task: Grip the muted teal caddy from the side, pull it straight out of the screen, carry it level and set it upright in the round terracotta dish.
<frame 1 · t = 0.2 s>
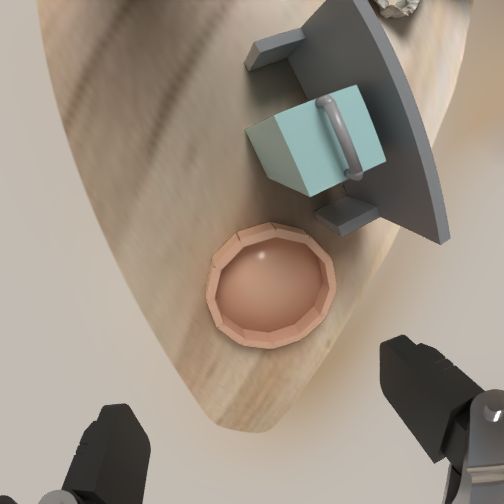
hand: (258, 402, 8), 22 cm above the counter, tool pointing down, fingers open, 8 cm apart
caddy: (282, 141, 27), on the counter
screen: (282, 141, 27), on the counter
dish: (269, 283, 32), on the counter
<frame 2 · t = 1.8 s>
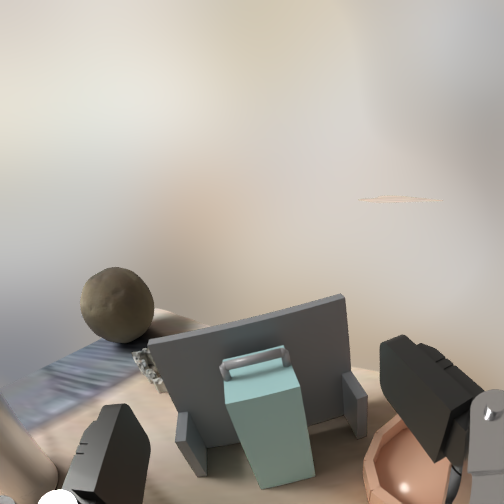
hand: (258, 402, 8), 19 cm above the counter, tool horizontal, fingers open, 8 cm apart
caddy: (283, 462, 24), on the counter
screen: (282, 462, 24), on the counter
cantaloupe: (131, 341, 56), on the counter
egg carton: (168, 375, 43), on the counter
dish: (432, 467, 18), on the counter
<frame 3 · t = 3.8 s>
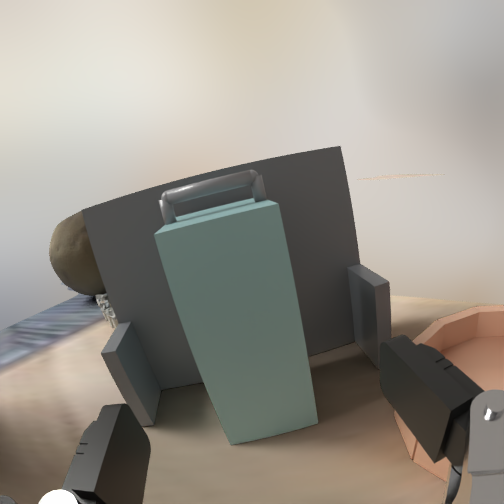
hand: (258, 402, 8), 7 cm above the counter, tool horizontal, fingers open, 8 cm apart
caddy: (267, 405, 17), on the counter
screen: (266, 404, 17), on the counter
cantaloupe: (104, 296, 49), on the counter
egg carton: (134, 320, 37), on the counter
dish: (498, 396, 11), on the counter
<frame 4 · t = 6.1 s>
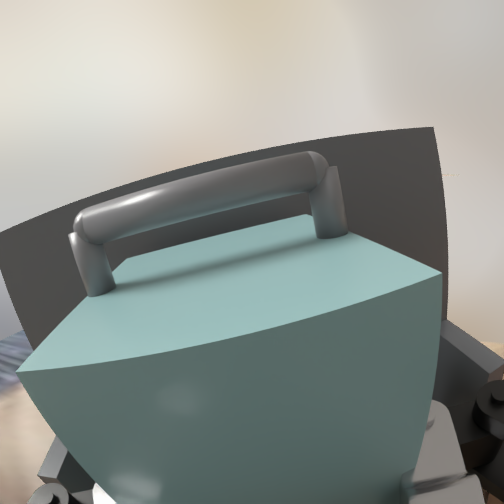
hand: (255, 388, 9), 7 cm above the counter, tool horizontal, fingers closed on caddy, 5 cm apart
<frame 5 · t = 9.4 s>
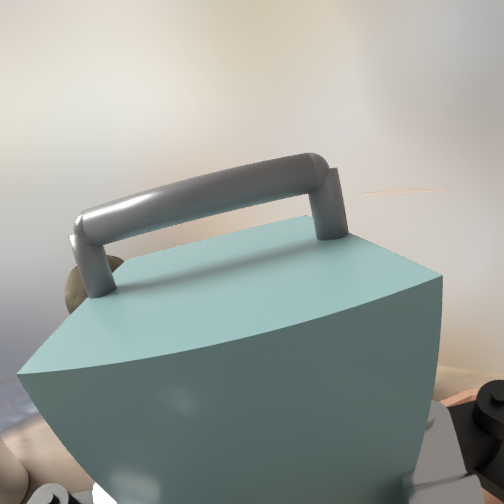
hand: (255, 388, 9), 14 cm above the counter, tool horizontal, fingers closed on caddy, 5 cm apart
cantaloupe: (121, 337, 50), on the counter
dish: (477, 468, 12), on the counter
when the fingers open (8 cm above the counter, at t = 13.0 s): caddy stays where it is, resting on dish.
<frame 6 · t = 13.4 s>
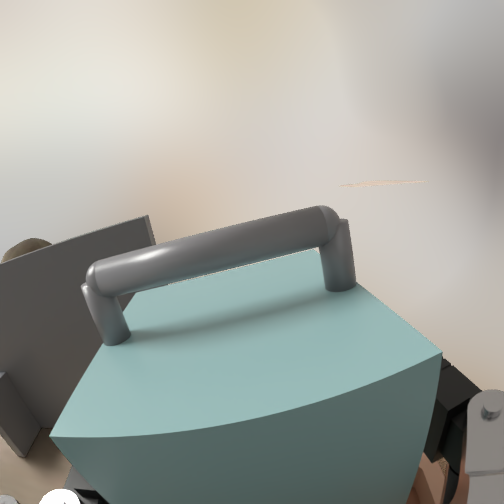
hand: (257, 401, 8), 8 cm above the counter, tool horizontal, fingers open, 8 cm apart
screen: (96, 463, 15), on the counter
cantaloupe: (50, 319, 47), on the counter
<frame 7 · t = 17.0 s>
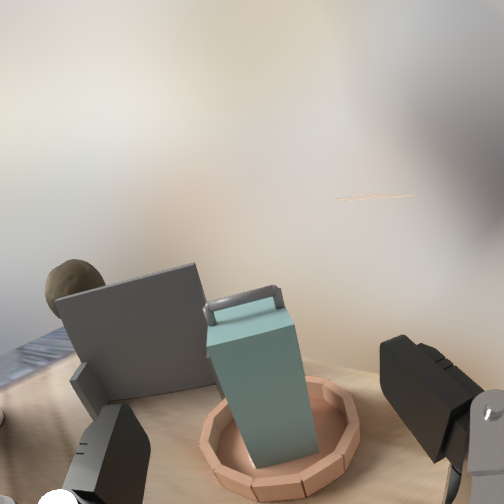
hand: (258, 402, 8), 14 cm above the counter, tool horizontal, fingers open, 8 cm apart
caddy: (281, 438, 22), resting on dish
screen: (157, 415, 28), on the counter
cantaloupe: (89, 325, 61), on the counter
dish: (282, 441, 22), on the counter
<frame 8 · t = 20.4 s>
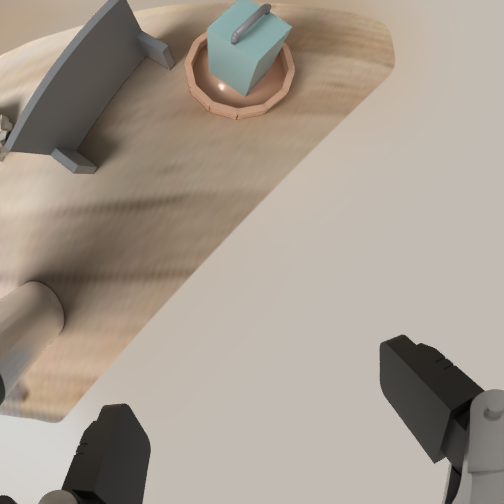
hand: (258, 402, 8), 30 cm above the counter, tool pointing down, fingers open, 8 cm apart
caddy: (239, 70, 33), resting on dish
screen: (131, 116, 33), on the counter
dish: (238, 71, 33), on the counter
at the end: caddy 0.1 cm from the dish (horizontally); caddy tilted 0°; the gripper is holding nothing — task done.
